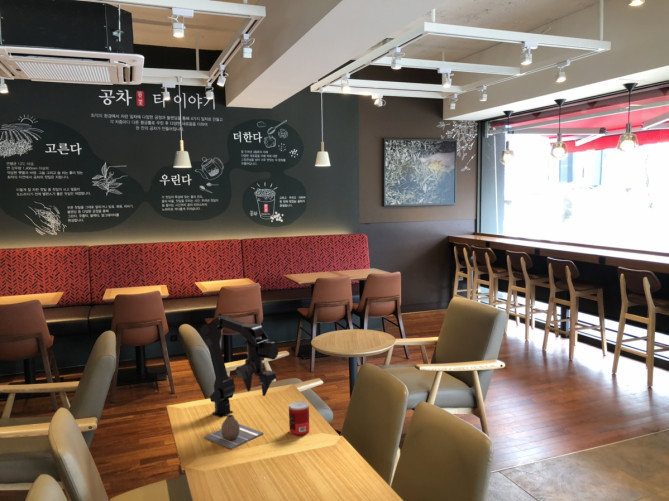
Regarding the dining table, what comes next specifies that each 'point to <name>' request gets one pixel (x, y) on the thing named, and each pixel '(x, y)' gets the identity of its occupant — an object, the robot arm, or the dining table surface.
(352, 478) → the dining table surface
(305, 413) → the canned food
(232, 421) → the vase
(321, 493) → the dining table surface
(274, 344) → the robot arm
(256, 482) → the dining table surface
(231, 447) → the mat
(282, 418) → the dining table surface
